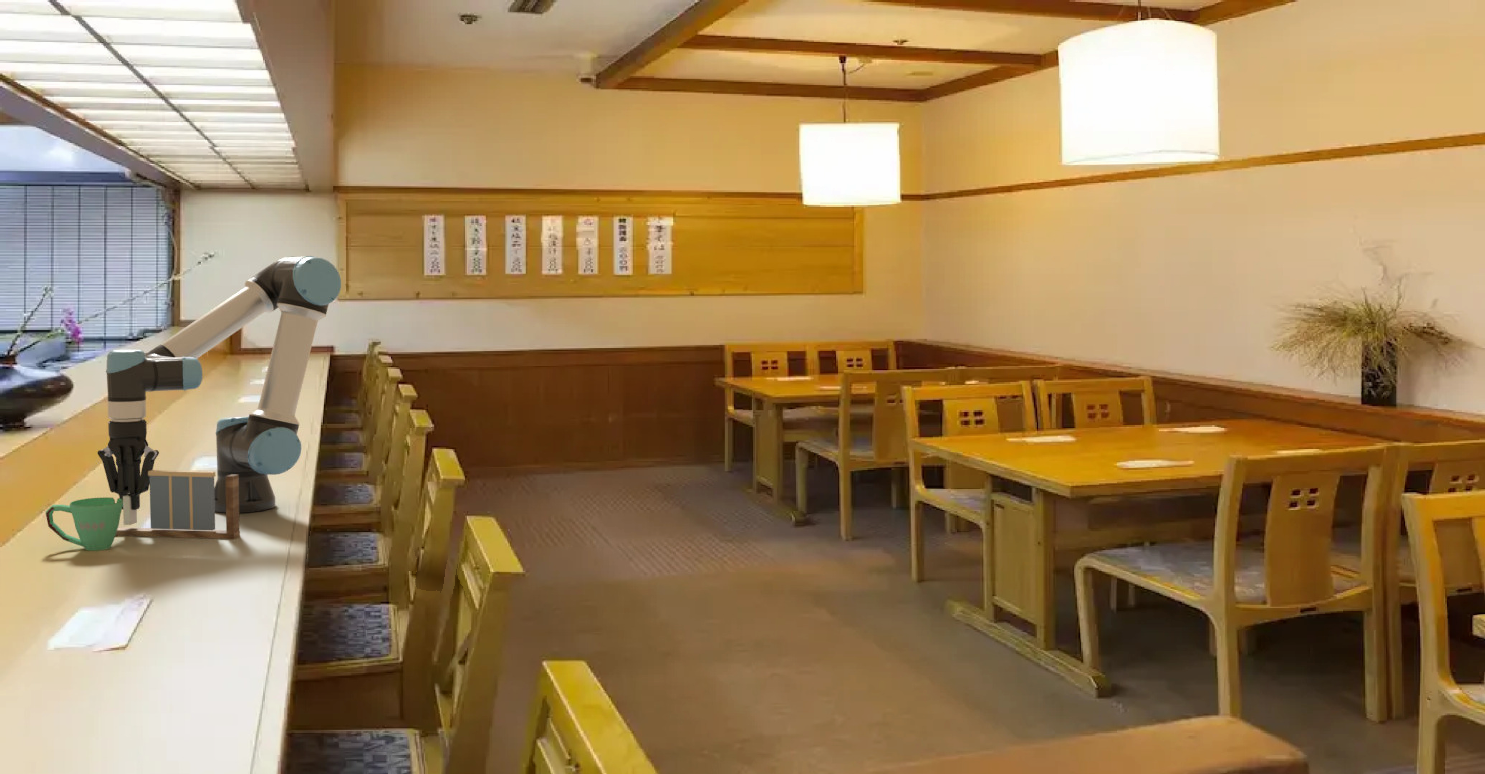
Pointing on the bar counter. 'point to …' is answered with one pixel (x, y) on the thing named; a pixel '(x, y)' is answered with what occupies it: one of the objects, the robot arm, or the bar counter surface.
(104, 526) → the mug
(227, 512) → the brown wooden rack
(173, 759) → the bar counter surface
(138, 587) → the bar counter surface
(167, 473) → the panel
